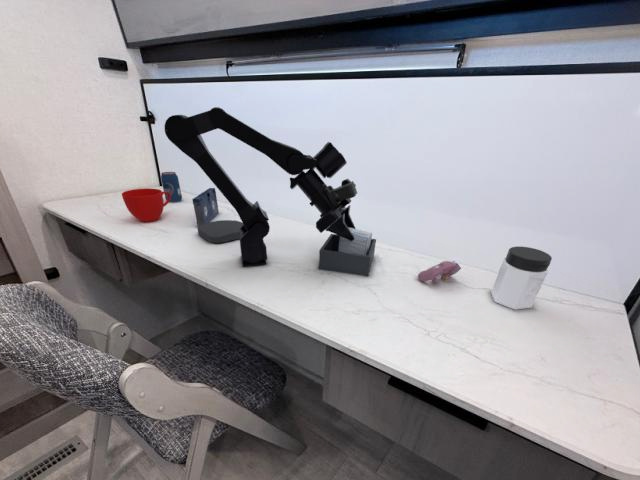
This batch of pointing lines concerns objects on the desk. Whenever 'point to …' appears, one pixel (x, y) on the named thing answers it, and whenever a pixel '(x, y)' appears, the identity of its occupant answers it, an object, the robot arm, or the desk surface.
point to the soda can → (171, 186)
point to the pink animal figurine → (439, 271)
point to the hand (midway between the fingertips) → (354, 236)
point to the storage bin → (344, 258)
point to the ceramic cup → (145, 203)
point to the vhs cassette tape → (205, 206)
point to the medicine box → (356, 242)
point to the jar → (520, 277)
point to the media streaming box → (220, 231)
